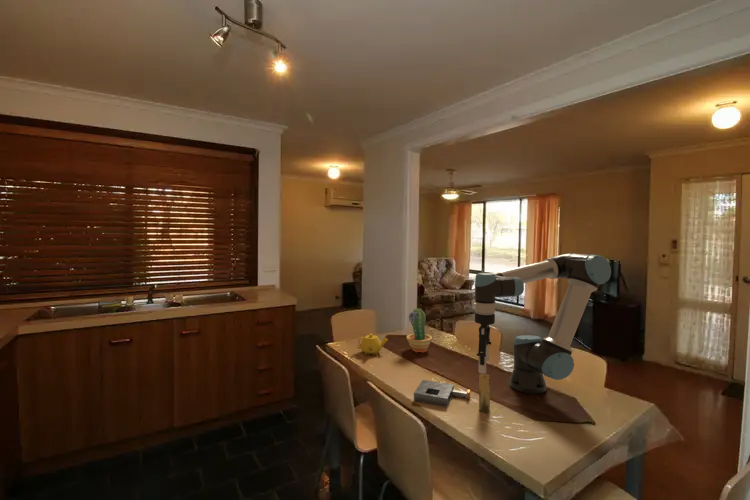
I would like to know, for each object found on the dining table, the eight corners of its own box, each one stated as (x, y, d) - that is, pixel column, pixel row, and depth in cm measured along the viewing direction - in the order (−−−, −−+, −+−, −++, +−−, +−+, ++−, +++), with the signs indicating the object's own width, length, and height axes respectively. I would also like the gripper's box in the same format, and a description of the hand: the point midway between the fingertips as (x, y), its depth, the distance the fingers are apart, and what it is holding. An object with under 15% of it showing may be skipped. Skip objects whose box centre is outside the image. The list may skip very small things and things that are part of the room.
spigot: (490, 408, 138) (490, 374, 137) (489, 413, 134) (489, 378, 134) (479, 407, 140) (479, 372, 139) (478, 411, 136) (478, 376, 135)
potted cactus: (404, 346, 215) (403, 306, 214) (428, 345, 217) (428, 305, 215) (409, 355, 200) (409, 312, 198) (435, 353, 201) (435, 311, 200)
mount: (453, 392, 153) (453, 384, 152) (447, 407, 140) (447, 398, 140) (422, 387, 158) (422, 379, 158) (413, 401, 145) (413, 392, 145)
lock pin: (470, 396, 148) (470, 389, 148) (469, 399, 146) (469, 392, 146) (439, 391, 154) (439, 384, 153) (437, 394, 151) (437, 387, 151)
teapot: (371, 359, 194) (370, 339, 194) (355, 353, 204) (354, 334, 203) (388, 352, 204) (388, 334, 204) (372, 347, 214) (372, 329, 213)
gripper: (478, 305, 148) (477, 354, 149) (470, 319, 125) (469, 376, 126) (497, 307, 145) (496, 357, 146) (492, 321, 122) (491, 380, 123)
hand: (484, 366), depth 136 cm, fingers open, 13 cm apart
